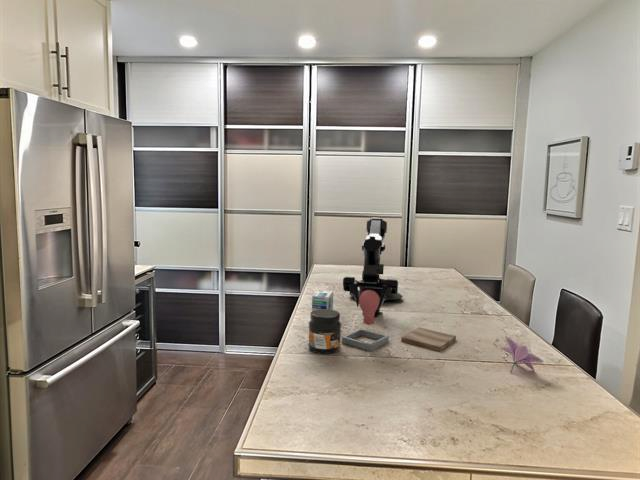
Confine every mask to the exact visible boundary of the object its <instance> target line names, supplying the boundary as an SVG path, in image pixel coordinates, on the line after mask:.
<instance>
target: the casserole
mask: <svg viewBox="0 0 640 480" xmlns="http://www.w3.org/2000/svg"><path fill="white" fill-rule="evenodd" d="M380 279H381V281H382V283H386V281H387V279H383V278H380ZM360 281H363V279H361V280H360ZM362 292H363V287H358V298H359V296H360V295H361V293H362ZM348 294H349V296H350V297H353V298H354V296H353V294H352V293H350V292H349V293H348ZM402 298H403V295H402V294H401V293H399V292H397V294H391V295H390V296H387V298H386V299H385V301H384V302H386V301H391V300H393V301H394V300H396V301H397V300H401V299H402Z"/></svg>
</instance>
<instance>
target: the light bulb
mask: <svg viewBox="0 0 640 480" xmlns="http://www.w3.org/2000/svg"><path fill="white" fill-rule="evenodd" d="M379 304H380V298H379V296H378V294H377V293H376V292H375V291H372V290H366V291H364V292H362V293H361V295H360V296H359V307H360V309H361V311H362V313H363V314H362V316H363V324H365V325H367V326H370V325H374V324H375V318H376V317H374V316H375V311H376V310H377V308H378V306H379Z"/></svg>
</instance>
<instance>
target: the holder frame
mask: <svg viewBox="0 0 640 480" xmlns="http://www.w3.org/2000/svg"><path fill="white" fill-rule="evenodd" d="M359 336H363V337H367V338H370V339H374V340H375V341H374V342H371V343H369V342H365V341H361V340H357V339H355V338H357V337H359ZM389 339H390V337H389V335H387V334H382V333H379V332H375V331H372V330H368V329H365V328H364V329H362V328H358V329H356V330H354V331H351V332H349V333H348V334H345V335H343V336H341V343H342V344H344V345H345V344H346V345H348V346H352V347H356V348H359V349H362V350H365V351H370V352H372V351H374V350H376V349H378V348H380V347H382V346H383V345H385V344H387V343H389Z"/></svg>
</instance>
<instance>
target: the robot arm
mask: <svg viewBox="0 0 640 480" xmlns="http://www.w3.org/2000/svg"><path fill="white" fill-rule="evenodd" d="M387 222H388V221H385V220H383V218H382V217H370V218H369V219H368V220H367V221H366V229H365V230H366V232H367V235H366V236H365V237H364V238H365V239H364V240H363V241H362V243H361V244H362V245H361V251H363V257H364V260H363V270H362V274H361V280H363V281H361V280H357V279H356V278H355V277H354V276H344V277H343V280H342V287H343V289H342V290H343V291H344V292H349V293H352V294H353V296H354V297H353V298H354V300H355V303H356V307H357V308H359V307H360V305H359V298H358V290H359V287H363V292H364V291H366V290H372V291H375V292H376V293H377V294H378V296H379V298H380V304H379V306H378V308H377V310H376V311H375V316H374V318H376V317H379V316H381V315H383V314H384V313H383V312H382V311H381V309H382V306H383V305H384V302H386V301H385V299H386V298H387V296H390V295H391V294H397V293H398V290H399V289H398V288H399V281H398V280H397V279H394V278H391V279H390V278H387V279H386V280H387V281H386V283H382V281H381V279H382V278H381V277H380V275H384V263H381V255H382V252H384V251H385V250H386V245H385V241H384V240H385V238H386V234H387V231H388V223H387ZM361 314H362V315H363V312H362V313H361Z"/></svg>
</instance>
